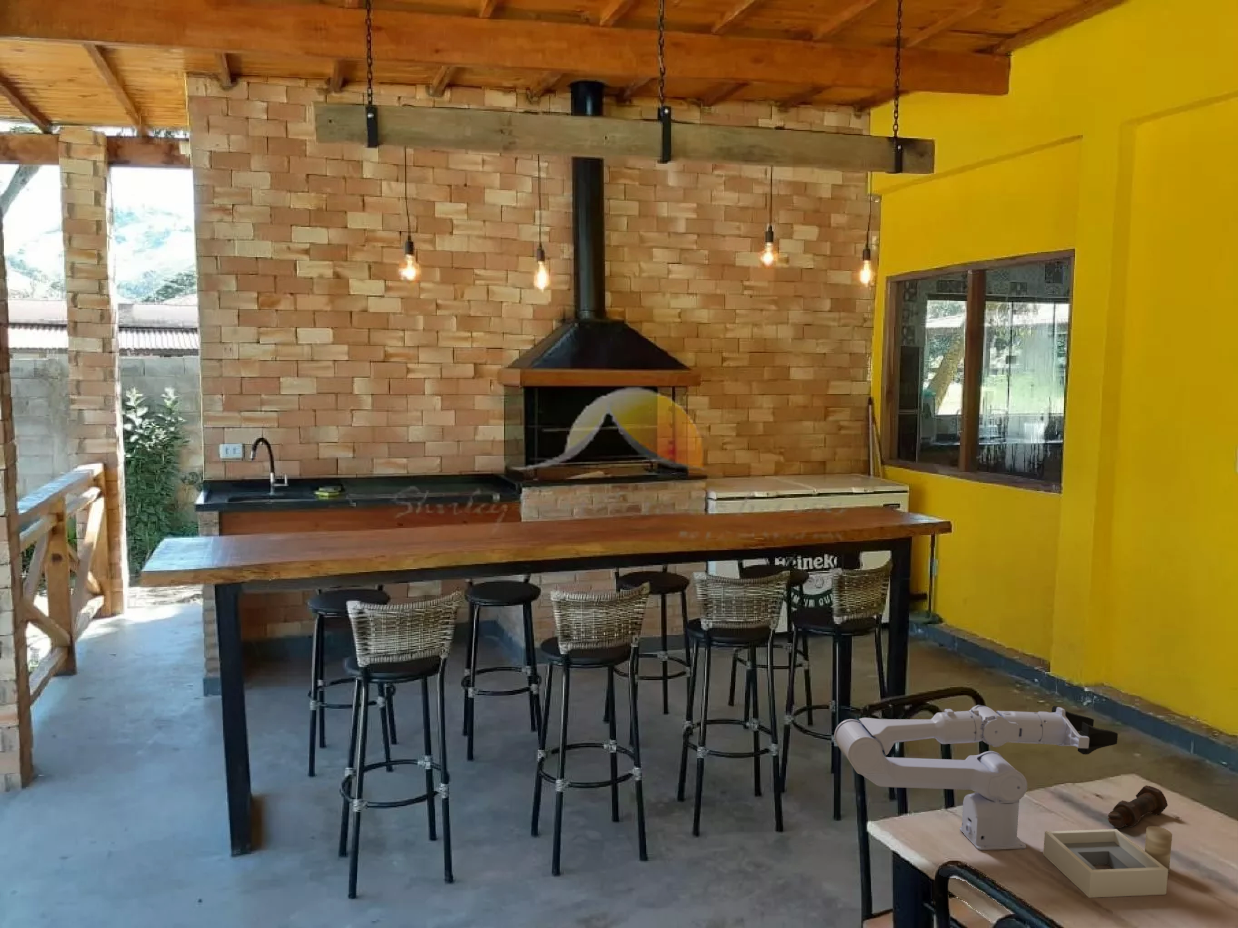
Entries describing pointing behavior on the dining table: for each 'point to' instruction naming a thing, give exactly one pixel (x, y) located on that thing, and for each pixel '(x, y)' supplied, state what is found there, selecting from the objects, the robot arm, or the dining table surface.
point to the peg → (1159, 844)
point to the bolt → (1138, 807)
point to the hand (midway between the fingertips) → (1104, 731)
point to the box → (1109, 847)
